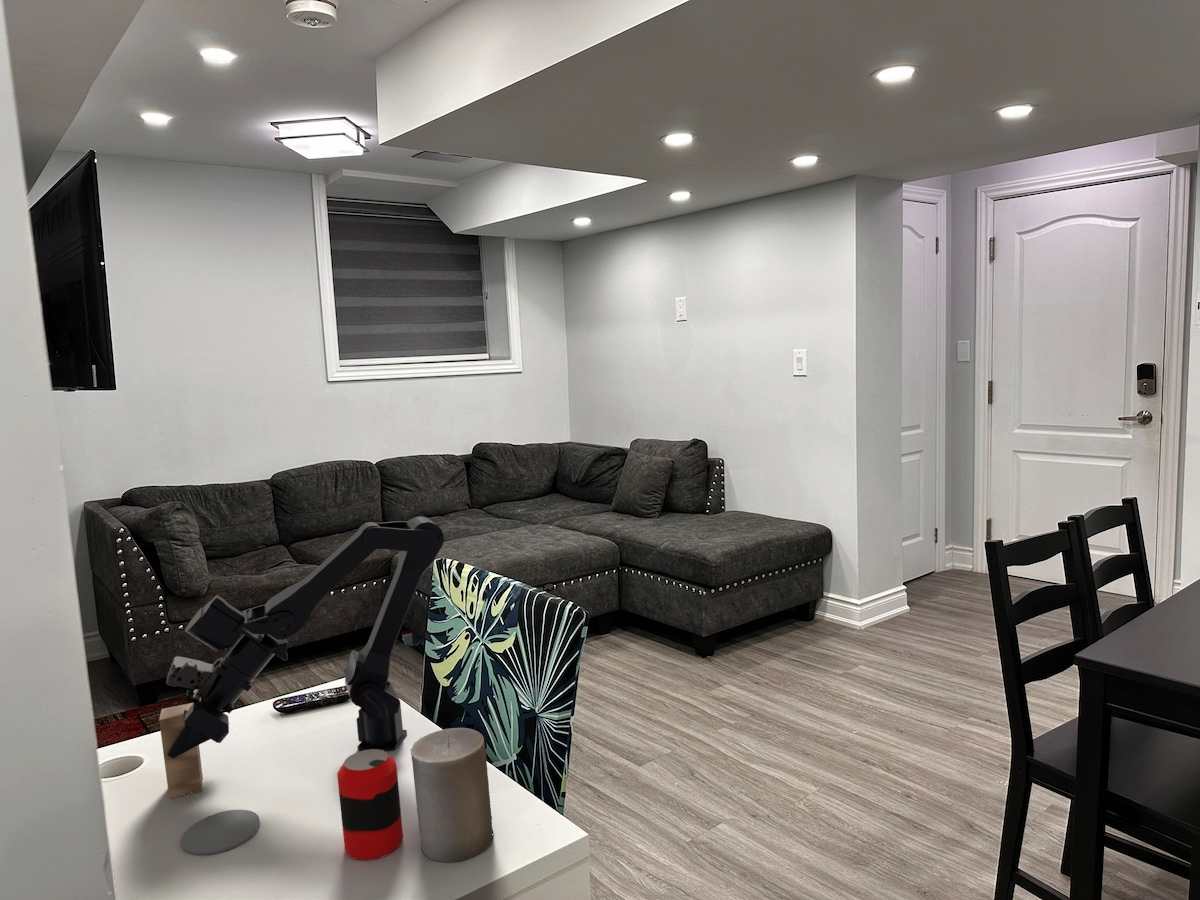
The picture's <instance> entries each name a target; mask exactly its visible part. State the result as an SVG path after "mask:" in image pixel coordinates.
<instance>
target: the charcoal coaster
mask: <svg viewBox="0 0 1200 900" xmlns="http://www.w3.org/2000/svg"><path fill="white" fill-rule="evenodd" d="M260 827H261V820H260V816H259V815H258V814H257V813H256V812H254V811H252V810H248V809H231V810H225V811H220V812H216V813H213V814H211V815H209V816H205V817H204V818H201V819H200V820H198V821H196V822H195V823H192V825H190V826H189V827H188V828H187V829H186V830H185V831H184V833H183V834H182V836H181V839H180V842H181V847H182V849H183V850H184V852H186V853H187V854H190V855H195V856H207V855H208V856H209V855H215V854H219V853H224V852H226V851H230V850H232V849H234V848H237V847H240V845H243V844H244V843H247V842H248V841H249V840H250V839H252V838H253V837H254V836H255V835H256V834H257V832H258V831H259V830H260Z"/></svg>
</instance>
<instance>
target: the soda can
mask: <svg viewBox="0 0 1200 900" xmlns="http://www.w3.org/2000/svg"><path fill="white" fill-rule="evenodd" d="M397 768H398V766H397V762H396V760H395V759H394V758H393V757H392V756H390V755H389V754H388V752H386V750H379V749H370V750H359V751H357V752H354V753H352V754H351V755H349V756H348V757H347V758H346V759H345V760H344V762H343V763H342V765H341V766H340V768H339V770H338V771H337V773H336V775H337V777H336V778H337V784H338V785H337V786H338V794H339V795H338V797H339V805H340V807H339V808H340V812H341V813H340V815H341V826H342V834H343V835H342V836H343V844H344V845H343V846H344V851H345V853H346V854H347V855H348V856H349V857H350V858H353V859H355V858H356V859H355V860H358V859H361V860H360V861H370V860H369V859H373V860H376V859H375V858H377V859H380V858H379V857H381V858H383V857H386V856H388V855H390V854H391V853H393V852H394V851H396V850H397V849H398V847H399V846H400V845H401V844H402V842H403V838H404V832H403V822H402V821H403V820H402V811H401V799H400V789H399V777H398V769H397ZM392 851H393V852H392ZM389 853H390V854H389ZM387 854H388V855H387ZM385 855H386V856H385ZM382 856H383V857H382Z"/></svg>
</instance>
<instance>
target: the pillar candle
mask: <svg viewBox="0 0 1200 900" xmlns="http://www.w3.org/2000/svg"><path fill="white" fill-rule="evenodd" d="M486 752H487V751H486V743H485V737H484V736H483V734H482V733H481V732H480V731H478V730H475V729H473V728H467V727H453V728H452V727H451V728H445V729H440V730H437V731H434V732H431V733H428V734H426V735H424V736H422V737H420V738H419V739H417V740H416V741H414V743H413V744H412V746H411V748H410V755H411V763H412V770H413V781H414V782H413V783H414V791H415V792H414V793H415V802H416V803H415V804H416V810H417V812H416V813H417V821H418V828H419V829H418V830H419V837H420V838H419V840H420V847H421V850H422V852H423V853H424V854H425V856H427V857H428V858H429V859H430V860H432V861H435V860H436V862H440V861H442V862H444V863H454V862H460V861H463V860H467V859H470V858H473V857H475V856H476V855H478V854H480V853H481V852H484V850H486V849H488V848H489V846H490V845H491V844H492V842H493V840H494V837H495V836H494V829H493V822H492V821H493V820H492V819H493V815H492V808H491V797H490V784H489V774H488V765H487V763H488V762H487V754H486ZM492 834H493V835H492ZM490 843H491V844H490ZM453 861H454V862H453ZM442 862H441V863H442Z"/></svg>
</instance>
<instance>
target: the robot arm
mask: <svg viewBox="0 0 1200 900" xmlns="http://www.w3.org/2000/svg"><path fill="white" fill-rule="evenodd" d="M349 537H350V538H348V539H347V540H346V541H345V542H344V543H342V545H341V546H339V547H338V548H337V549H336V550H335V551H334V552H332V554H331V555H329V556H328V557H327V558H326V559H324V561H322V563H320V564H319V565H318V566H317V567H316V568H315V569H313V571H311V573H309V574H308V575H307V576H306V577H305V578H303V579H302V580H300V581H298V582H296V583H294V584H292V585H290V586H288V587H286V588H285V589H283V590H281V591H280V592H278V593H276V594H275V595H273V596H272V597H271V598H269V599H268V600H267V602H266V603H265V604H261V605H257V606H254V607H250V608H248V609H244V610H243V611H242V612H241V611H240V610H239V609H237V608H236V607H234V605H231V604H230V603H229V602H227V601H226V600H225V599H224V598H223V597H221V596H220V595H219V594H217V595H215V596H214V597H213V598H212V599H211V600H210V601H208V602H207V603H206V604H205V605H203V607H201V608H200V609H198V611H197V612H196V614H194V616H193V617H191V620H190V621H189V623H188V624H187V626H186V628H185V629H184V632H186V633H187V634H189V635H190V636H192V637H193V638H195V639H196V640H198V641H200V642H202V643H203V644H204V645H206V646H208V647H210V649H212V650H213V651H215V652H218V651H220V650H221V651H224V650H229V649H230V650H229V651H228V652H227V653H226V655H225V656H224V657H222V656H220V658H217V659H216V660H215V661H214V662H213V663H208V662H205V661H202V660H198V659H193V658H189V657H184V656H180V655H179V656H174V657H173V660H172V662H171V665H170V668H169V671H168V673H167V676H166V681H165V685H167V686H170V687H174V688H176V687H179V688H186V689H188V690H186V704H189V703H193V704H192V706H191V707H190V708H189V709H188V711H187V710H184V716H183V718H184V722H185V725H184V727H183V729H182V730H181V732H180V734H179V735H178V737H177V739H176V740H175V742H174V743H173V745H172V747H171V749H170V750H169V752H168V756H169V757H171V758H175V757H177V756H179V755H181V754H183V753H184V752H186V751H188V750H190V749H192V748H194V747H196V746H198V745H199V746H200V745H201V744H204V743H206V742H207V741H210V740H212V741H213V742H215V743H218V744H221V743H222V742H223V741H224V739H225V738H226V737H227V736H228V734H229V733H230V720H229V715H228V714H230V713H232V711H234V709H235V703H236V701H238V700H239V698H240V697H241V696H242V694H243V693H244V692H245V691H246V692H249V691H250V689H251V688H253V681H254V680H255V679H256V678H257V676H258V675H259V674H260V673H261V671H263V669H264V668H265V667H266V666H267V664H268V663H269V662H270V660H271V659H272V658H273V657H274V656H275V655H276V657H277V658H280V659H281V660H283V661H287V660H289V657H288V652H287V651H288V644H289V643H288V639H290V638H292V637H294V636H295V635H296V634H298V633H299V632H300V630H301V629H302V627H304V626H305V624H306V623H307V622H308V620H309V619H310V617H311V616H312V615H313V613H314V611H315V610H316V608H317V606H318V605H319V604H320V602H321V601H322V600H323V598H324V597H325V596H326V595H328V594H329V593H330V592H331V591H332V590H333V589H334V588H336V587H337V585H338V584H340V583H341V582H342V581H343V580H345V578H346V577H347V576H348V575H350V574H351V573H352V572H353V571H354V570H355V569H356V568H357V567H358V566H359V565H361V564H362V563H363V562H364V561H365V560H366V559H367V558H368V557H370V556H371V554H373V552H375V551H376V550H387V551H388V550H390V551H398V559H397V567H396V569H395V572H394V575H393V577H392V579H391V582H390V584H389V587H388V589H387V593H386V594H385V597H384V600H383V603H382V605H381V607H380V610H379V612H378V615H377V618H376V620H375V623H374V625H373V628H372V630H371V633H370V636H369V638H368V641H367V643H366V645H364V647H363V648H362V649H361V650H360V651H359V652H358V651H356V650H354V649H352V650H351V653H350V656H349V660H348V664H347V665H346V667H345V668H344V669H343V670H342V672H343V676H344V684H345V686H346V690H347V693H348V696H349V698H350V701H351V702H352V703H353V704H354V705H355V706H356V707H359V709H358V717H357V718H356V728H357V737H358V738H357V739H358V742H359V744H358V745H357V746H356V747H357V750H358V751H364V750H370V749H379V750H383V751H393V750H396V748H398V746H399V744H400V743H401V742H402V740H403V739H404V738H405V736H406V735H407V733H408V730H407V729H404V726H403V718H402V717H403V714H402V703H401V700H400V698H399V696H398V694H397V692H396V690H395V687H394V686H393V684H392V682H390V681H389V677H390V676H389V675H390V674H389V673H390V664H391V655H392V652H393V650H394V647H395V645H396V642H397V639H398V637H399V634H400V631H401V629H402V626H403V623H404V622H405V619H406V617H407V613H408V612H409V610H410V605H411V604H412V601H413V598H414V596H415V593H416V590H417V589H418V585H419V583H420V580H421V578H422V576H423V575H424V574H425V572H427V570H428V569H429V568H430V566H431V565H432V564H433V562H434V561H435V559H436V558H437V556H438V554H439V552H440V551H441V549H442V548H443V545H444V542H445V535H444V532H443V531H442V528H441V527H439V525H438V524H437V523H435V522H434V521H433V520H431V519H430V518H428V517H426V516H422V515H421V516H420V515H419V516H415V517H413V518H410V519H409V520H408V521H403V520H402V521H401V520H399V521H397V520H394V521H387V522H384V521H383V522H374V521H373V522H372V521H368V522H365V523H363V524H362V525H361V526H359V528H358V529H357V531H356V532H355V533H354V534H353V535H351V536H349ZM242 634H243V635H242ZM241 635H242V636H241ZM240 636H241V637H240ZM239 637H240V638H239ZM233 645H234V646H233ZM222 711H224V712H226V713H228V714H226V713H224V712H222Z"/></svg>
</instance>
